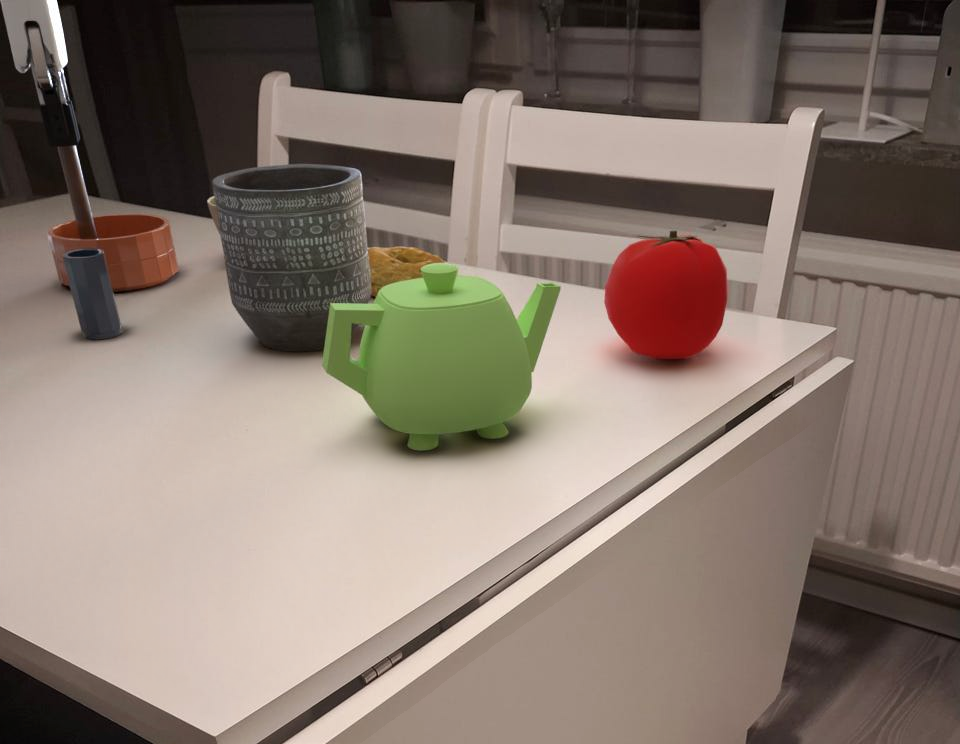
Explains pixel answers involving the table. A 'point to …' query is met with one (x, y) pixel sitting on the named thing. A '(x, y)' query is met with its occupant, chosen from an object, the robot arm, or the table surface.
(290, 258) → the planter
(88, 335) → the tube
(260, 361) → the table surface
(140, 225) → the bowl
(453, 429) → the teapot
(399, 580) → the table surface
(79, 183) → the stick
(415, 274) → the bagel
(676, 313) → the tomato
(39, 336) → the table surface
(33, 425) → the table surface
